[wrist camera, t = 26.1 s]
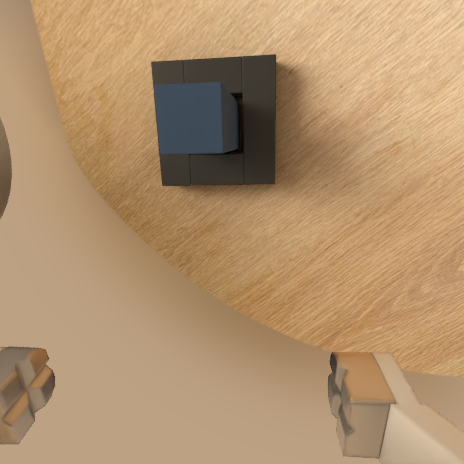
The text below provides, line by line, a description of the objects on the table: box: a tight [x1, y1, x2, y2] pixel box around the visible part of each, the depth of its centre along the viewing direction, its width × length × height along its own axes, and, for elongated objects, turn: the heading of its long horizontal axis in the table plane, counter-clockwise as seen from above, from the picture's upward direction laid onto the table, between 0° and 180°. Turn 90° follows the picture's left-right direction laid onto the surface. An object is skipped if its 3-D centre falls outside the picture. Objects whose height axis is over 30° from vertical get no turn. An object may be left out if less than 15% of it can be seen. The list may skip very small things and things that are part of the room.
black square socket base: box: [151, 55, 276, 186], centre depth 29 cm, size 11×11×2 cm
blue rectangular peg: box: [155, 82, 240, 155], centre depth 25 cm, size 4×4×12 cm
